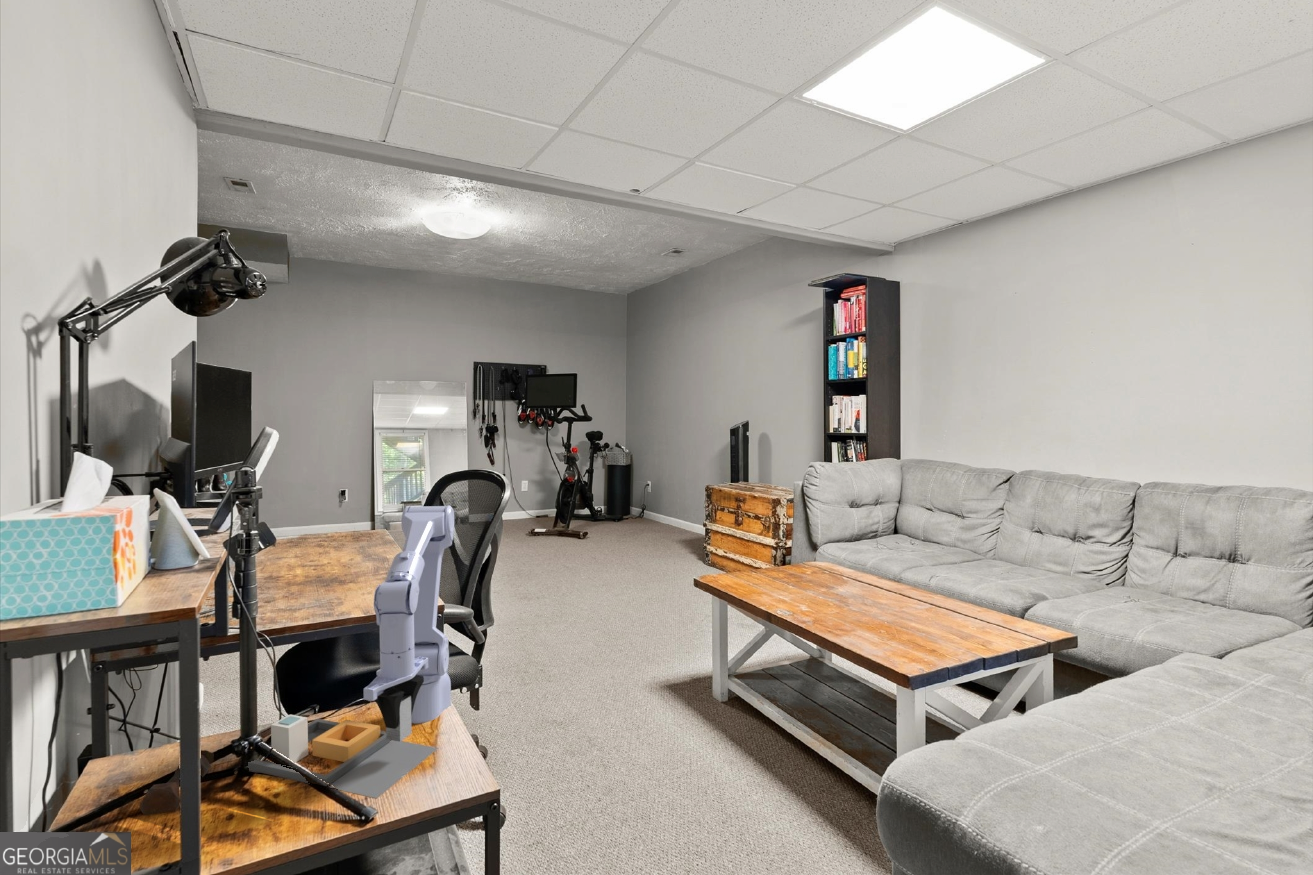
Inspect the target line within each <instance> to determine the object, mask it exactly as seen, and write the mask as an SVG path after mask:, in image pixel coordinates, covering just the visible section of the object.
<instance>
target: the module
mask: <svg viewBox="0 0 1313 875" xmlns="http://www.w3.org/2000/svg"><path fill="white" fill-rule="evenodd" d="M308 724H309V722H308V717H306V716H301V715H295V714H288V715H286V716H285V717H282V718H281V719H279V720H278V721H275V722H274V723H271V725H270V731H271V732H270V738H271V740H270V741H271V745H272V748H274V749H276V751H277V752H279V753H281V754H283V755H284V756H286V757H287V758H289V759H290V760H292V761H293V762H296V763H297V762H298V761H300V760H302V759H303V758H305V757H307V756H309V742H308ZM271 745H270V746H271ZM272 763H273V764H275V763H274V762H272Z"/></svg>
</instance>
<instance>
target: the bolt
mask: <svg viewBox="0 0 1313 875" xmlns="http://www.w3.org/2000/svg"><path fill="white" fill-rule="evenodd" d="M200 750H201V776H202V778H204V777H205V776H206V775H207V773H208V772H209V770H210V769H211V764H212V763H214V761H215V759H214V758H215V755H214V752H211V751H209V750H205V749H204V750H203V749H200ZM142 798H143V799H142V800H141V802H140V804H139V809H140V811H141V813H142V814H143V816H150V815H159V814H168V813H175V812H176V811H177V810H178V809H179V808H180V807H179V765H178V766H177V768H176V769H175V772H174V775H172V777H171V778H169V780H168V781H167V782H166V783H165V782H164V783H156V784H153V785H152V786H151V787H150V788H149V789H148V790H147V792H146V793H145V795H144V797H142Z"/></svg>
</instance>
